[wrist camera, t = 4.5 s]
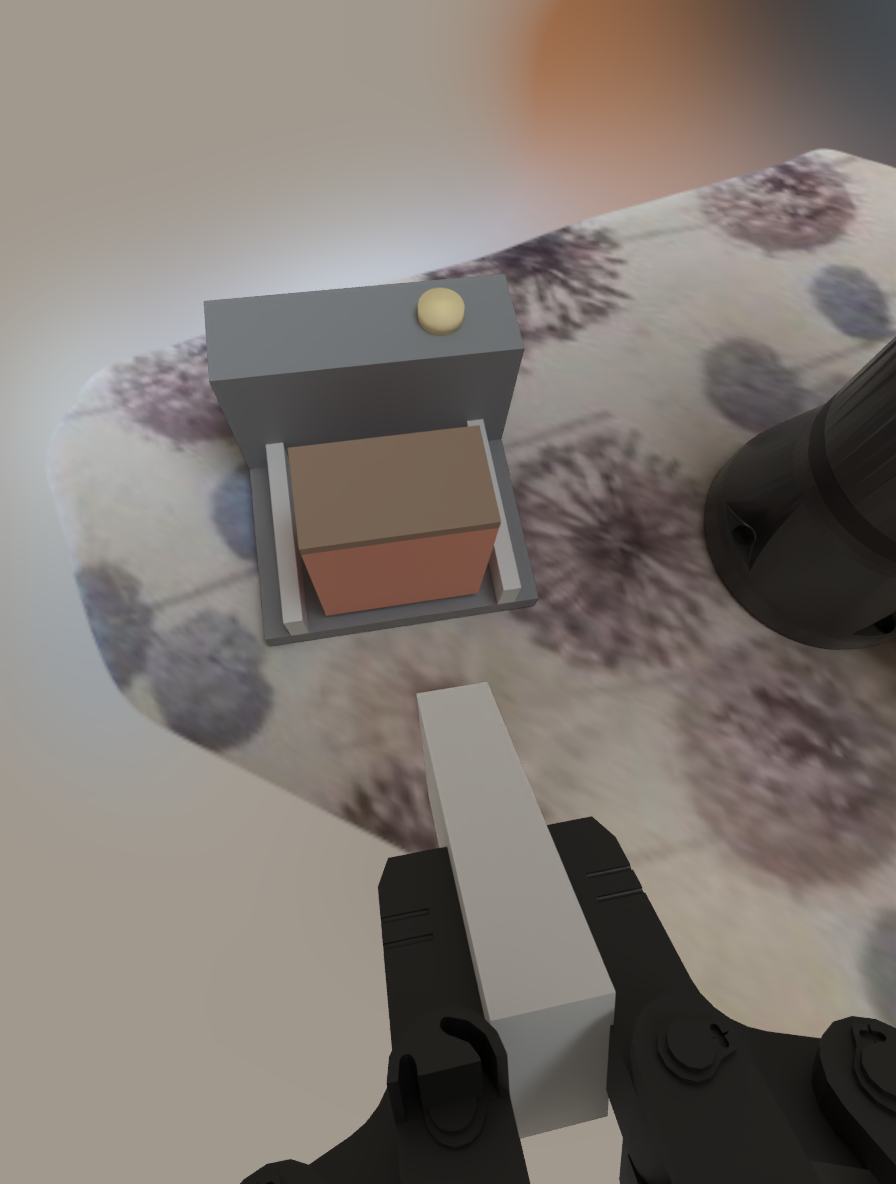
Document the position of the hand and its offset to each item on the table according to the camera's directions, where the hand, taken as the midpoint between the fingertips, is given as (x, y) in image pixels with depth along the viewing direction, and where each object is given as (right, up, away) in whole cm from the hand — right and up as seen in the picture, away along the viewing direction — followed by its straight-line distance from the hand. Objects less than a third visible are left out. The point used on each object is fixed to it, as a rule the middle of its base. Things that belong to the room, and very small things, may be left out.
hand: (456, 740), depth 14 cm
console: (-4, +9, +27) cm, 29 cm away
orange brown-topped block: (-3, +5, +24) cm, 24 cm away
